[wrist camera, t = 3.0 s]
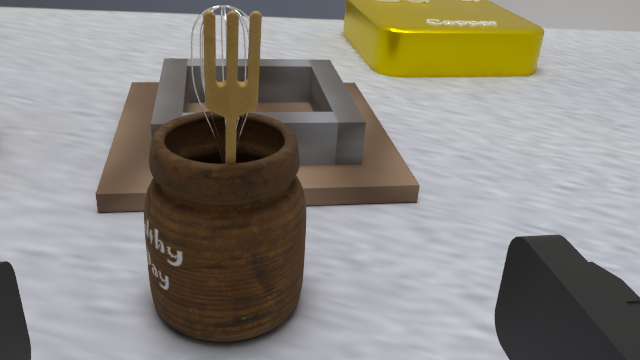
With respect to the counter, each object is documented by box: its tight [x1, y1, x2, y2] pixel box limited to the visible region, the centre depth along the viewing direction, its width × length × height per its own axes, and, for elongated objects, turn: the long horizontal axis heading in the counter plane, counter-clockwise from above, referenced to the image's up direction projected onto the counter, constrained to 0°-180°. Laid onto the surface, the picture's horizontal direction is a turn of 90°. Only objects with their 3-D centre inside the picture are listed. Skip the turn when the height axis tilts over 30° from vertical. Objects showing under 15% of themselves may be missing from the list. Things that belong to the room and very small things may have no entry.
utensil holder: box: [144, 6, 306, 342], centre depth 21 cm, size 6×6×12 cm
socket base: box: [96, 59, 419, 212], centre depth 37 cm, size 16×16×4 cm
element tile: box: [343, 0, 544, 77], centre depth 57 cm, size 15×15×5 cm
